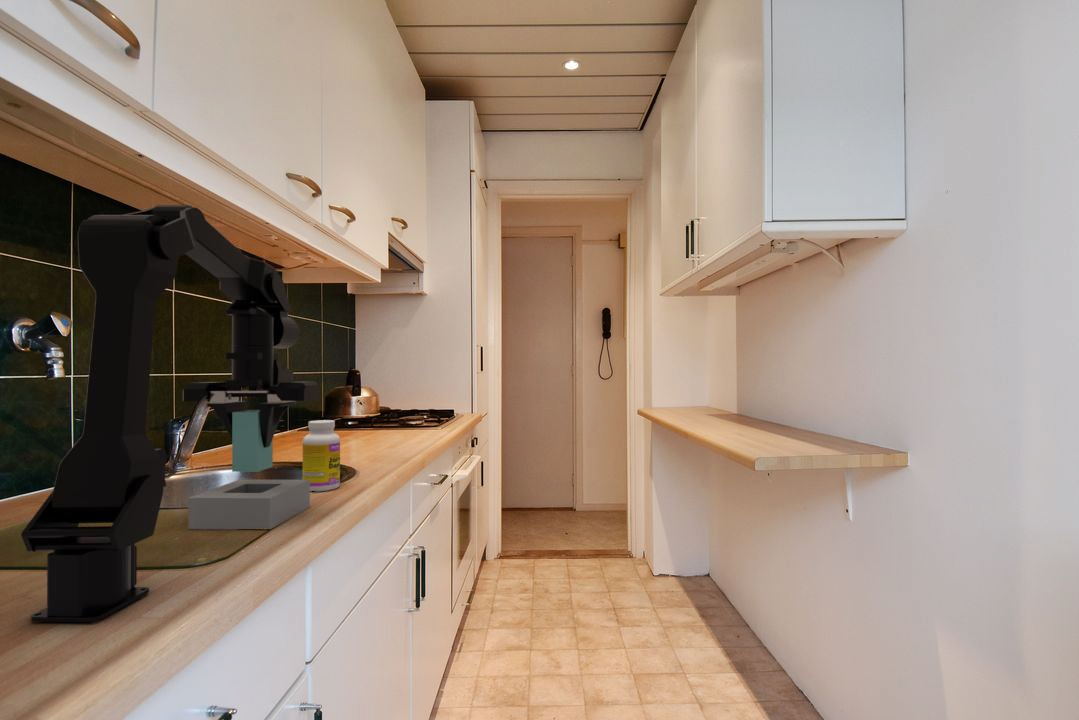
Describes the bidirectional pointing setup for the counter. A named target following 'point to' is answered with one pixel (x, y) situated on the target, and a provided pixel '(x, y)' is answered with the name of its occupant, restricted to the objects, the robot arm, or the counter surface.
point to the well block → (248, 504)
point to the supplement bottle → (321, 456)
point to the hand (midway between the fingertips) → (252, 447)
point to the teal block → (249, 443)
